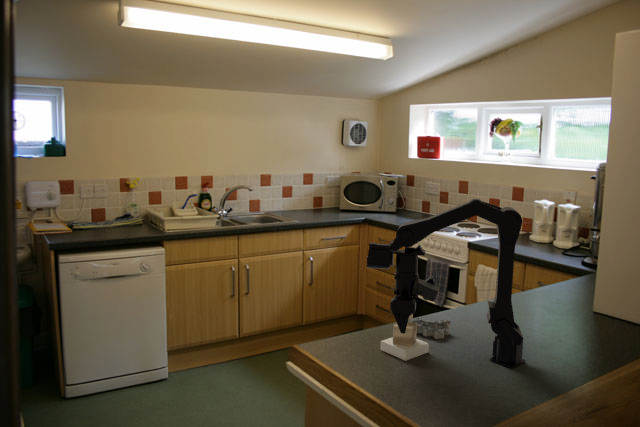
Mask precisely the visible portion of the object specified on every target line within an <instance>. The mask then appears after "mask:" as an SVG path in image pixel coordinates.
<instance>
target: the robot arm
mask: <svg viewBox="0 0 640 427" xmlns="http://www.w3.org/2000/svg"><path fill="white" fill-rule="evenodd" d="M473 217H478V218H480V219H483V220H485V221H488V222H489V223H491V224H494V225H496V232H497V238H498V254H497V256H498V257H497V270H496V271H497V272H496V284H495V286H496V287H495V295H494V299H493V301H490V300H488V301H487V305H488V306H487V308H488V310H487V313H486V318H487V319H486V320H487V323H488V324H490V328H491V330H492V332H493V333H494V334H495V336H494V340H493V341H492V352H491V353H492V357H490V358H489V360H490V361H491V362H494V363H495V364H500V365H502V366H505V367H506V368H507V367H508V368H509V369H513V368H516V367H517V366H520V365H522V364H524V363H525V362H526V360H525V359H523V348H524V336H523V334H522V331H521V328H520V325H518V323H516V322H515V315H514V310H513V309H514V308H513V303H512V296H513V295H512V294H513V282H514V266H515V253H516V252H515V251H516V245H517V241H518V240H519V237H520V233H521V231H522V226H523V218H522V217H523V216H521V214H520V213H519V212H518V211H517V209H515V208H513V207H510V206H506V207H505V206H504V207H500V206H498V205H494V204H493V203H492V204H491V203H490V202H489V203H488V202H486V201H484V200H482V199H479V198H475V197H474V198H471V199H470V200H469V201H467V202H465V203H462V204H460V205H456V206H455V207H454V206H453V207H451V208H449V209H447V210H445V211H442V212H439V213H436V214H434V215H432V216H429V217H426V218H421V219H414V220H410V221H406V222H403V223H401V224H400V225H399V227H398V229H397V230H396V232H395V237H394V239H392V240H391V241H390V243H378V242H370V243H369V244H368V252H367V256H366V266H367V267H366V268H368V269H378V270H379V269H381V270H389V269H390V268H391V267H393V266H394V262H395V273H394V290H393V295H395V296H394V297H392V298H391V300H390V304H389V305H390V307H389V308H390V309H389V310H390V311H391V313H392V315H393V318H394V320H395V323H397V325H398V327H399V330H400V332H401V333H404V334H405V332H406V327H407V323H408V322H409V319H410V316H412V315H414V314H415V312H416V308H417V300H418V298H419V296H420V297H423V298H426V299H427V300H428V301H430V302H435V300H436V298H437V296H438V293H439V292H440V287H439V286H438V285H437V284H436V280H435V278H432V277H428V278H427V279H421V278H420V274H419V273H418V271H419V270H418V268H419V267H418V265H419V264H418V263H419V256H425V255H426V250H425V249H424V248H423V247H422V245H421V244H418V243H420V242H421V241H423V240H424V239H425V238H427V237H428V236H430V235H431V234H434V233H436V232H438V231H440V230H443V229H446V228H448V227H450V226H453V225H455V224H458V223H460V222H463V221H465V220H468V219H470V218H473ZM417 244H418V245H417ZM415 245H417V246H416V247H414V246H415ZM402 248H404V249H402Z"/></svg>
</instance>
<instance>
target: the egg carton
mask: <svg viewBox="0 0 640 427" xmlns="http://www.w3.org/2000/svg"><path fill="white" fill-rule="evenodd" d="M409 322H414V323H417V334H422V336H423V337H433V338H434V339H436V340H438V339H440V340H441V339H445V336H449V335H450V334H449V333H450V332H449V331H450V327H449V326H450V325H451V320H445V319H443V320H440V321H439V320H434V321H433V320H427V319H426V320H425V319H423V320H422V318H415V319H412V320H411V321H409Z"/></svg>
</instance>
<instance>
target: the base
mask: <svg viewBox="0 0 640 427" xmlns="http://www.w3.org/2000/svg"><path fill="white" fill-rule="evenodd" d="M380 351H382V352H384V353H387V354H389V355H391V356H393V357H396V358H397V359H398V358H399V359H401V360H403V361H409V360H411V359H414V358H417V357H419V356H423V355H424V354H427V353H429V343H428V342H426V341H423V340H421V339H419V338H416V342H415V343H414V344H413V345H412V346H411V347H408V346H402V345H397V344H393V336H392V337H389V338H385V339H383V340H380Z"/></svg>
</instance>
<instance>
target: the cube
mask: <svg viewBox="0 0 640 427" xmlns="http://www.w3.org/2000/svg"><path fill="white" fill-rule="evenodd" d="M392 327H393V328H392V329H393V330H392V337H393V344H397V345H402V346H408V347H411V346H412V345H413V344H414V343H415V342H416V339H417V335H418V333H417V323H414V322H410V321H408V323H407V327H406V332H405V334H404V333H401V332H400V330H399V327H398V325H397V322H395V324H394V325H392Z"/></svg>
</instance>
